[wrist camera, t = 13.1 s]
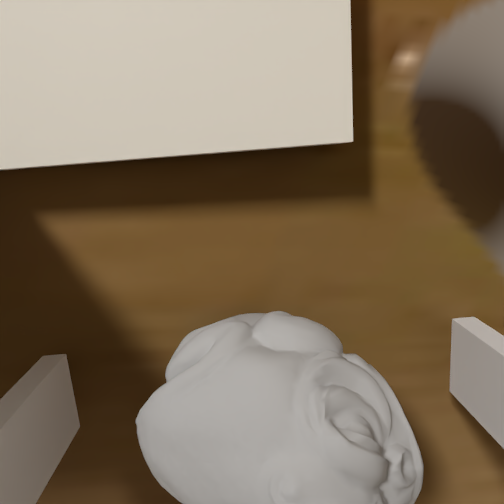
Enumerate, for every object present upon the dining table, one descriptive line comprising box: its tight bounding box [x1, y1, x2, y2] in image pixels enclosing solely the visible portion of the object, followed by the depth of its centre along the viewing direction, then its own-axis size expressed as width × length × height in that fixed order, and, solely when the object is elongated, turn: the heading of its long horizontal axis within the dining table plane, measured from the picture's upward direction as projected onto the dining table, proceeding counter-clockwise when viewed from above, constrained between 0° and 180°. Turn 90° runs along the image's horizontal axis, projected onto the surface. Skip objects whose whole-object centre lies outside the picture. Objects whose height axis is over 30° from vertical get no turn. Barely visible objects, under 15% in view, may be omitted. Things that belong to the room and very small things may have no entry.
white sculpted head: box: [136, 311, 424, 504], centre depth 11 cm, size 6×7×7 cm
